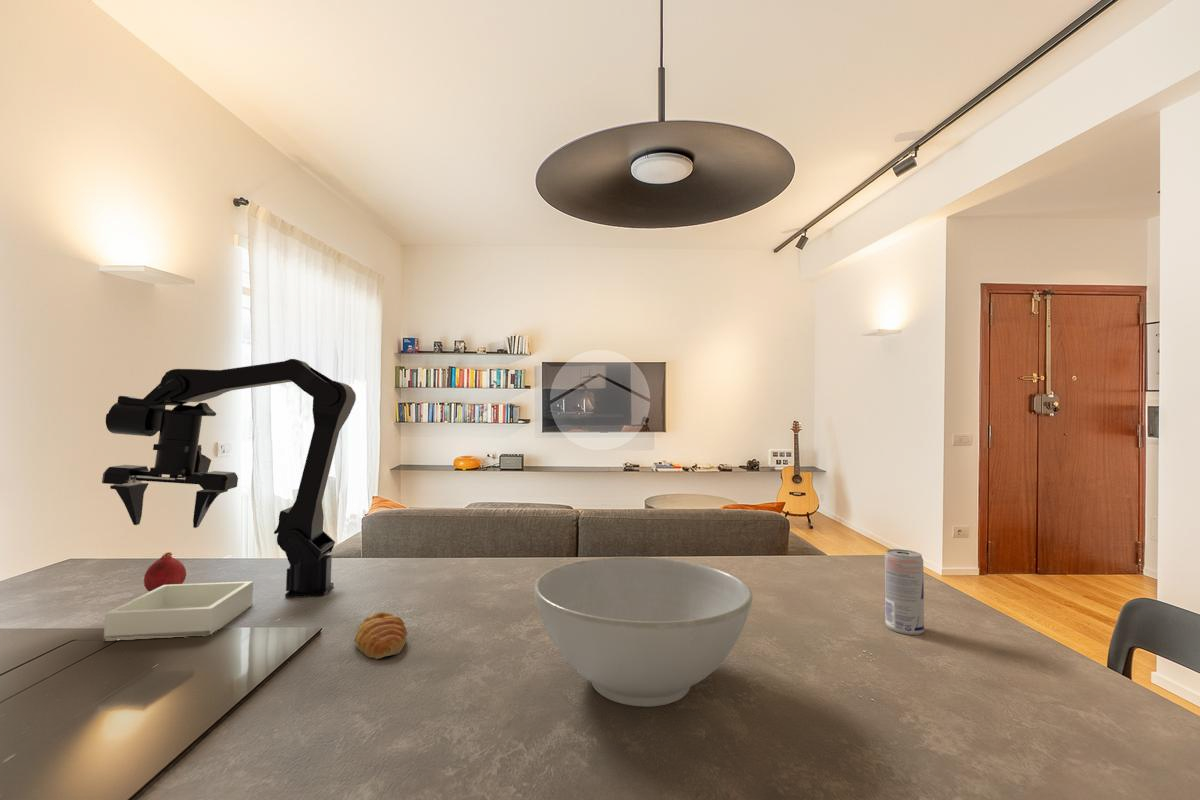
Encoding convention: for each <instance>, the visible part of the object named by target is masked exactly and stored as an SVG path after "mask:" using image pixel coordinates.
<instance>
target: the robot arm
mask: <svg viewBox="0 0 1200 800" xmlns="http://www.w3.org/2000/svg"><path fill="white" fill-rule="evenodd" d="M291 382H292V383H294V384H295V385H296V386H297V387H299V388H300V389H301V390H302V391H303V392H305V393H306V394H307V395H309V396H311V397H312V398H313V399H312V418H313V425H314V427H313V430H312V435H311V439H310V443H309V447H308V451H307V455H306V459H305V463H304V465H303V470H302V474H301V478H300V481H299V487H298V491H297V494H296V497H295V501H294V503H293V504H292V506H290V507H288V508H285V509H282V510H281V511H279V515H278V525H277V527H276V529H275V530H274V532H273V534H274V535H277V536H276V544H277V546H279V548H280V549H281V550H282V551H283V552H285V556H286V559H287V561H288V564H289V567H287V568H286V578H285V579H286V582H285V583H286V585H285V591H286V593H285V594H284V595H285V598H292V597H293V598H294V597H295V598H296V597H314V596H315V597H319V596H320V597H321V596H324V595H325V594H327V592H329V591H330V590H331V589H332V588H333V586H334V582H332V561H333V560H332V558H333V555H332V554H330V553H332V551H333V550H334V548H335V545H336V541H335V540H334V539H333V538H332V537H331V536H330V535H328V533H326V531H324V510H323V498H324V495H325V491H326V486H327V483H328V479H329V475H330V471H331V466H332V463H333V459H334V454H335V451H336V446H337V443H338V439H339V434H340V431H341V430H342V427H343V426H344V425H345V423H346V421H347V420H348V418H349V417H350V414H351V412H352V410H353V407H354V405H355V402H356V400H357V394H356V392H355V390H354V389H353V387H352V386H350V385H349V384H346V383H344V382H340V381H336V380H332V379H331V378H329V377H328V376H326V375H324V374H323V373H321V372H319V371H318V370H316V369H314V368H313V367H312V366H311V365H309V363H307V362H305V361H303V360H301V359H296V358H289V359H286V360H282V361H277V362H269V363H268V362H267V363H262V364H256V365H255V364H254V365H247V366H239V367H233V368H225V369H202V368H201V369H200V368H197V369H196V368H173V369H170V370H168V371H166V372H165V373H164V375H163V376H162V378H161V380H160V382H159V384H157V386H155V388H153V389H152V390H150V392H148V393H147V395H146V396H145V397H143V398H139V397H135V396H130V395H129V396H128V395H127V396H125V395H119V396H118V397H117V402H116V403H114V404H113V405H112V406H111V407H110V409H109V410H108V413H106V414H105V425H106V429H107V431H109V432H110V433H111V434H116V435H117V434H118V435H129V436H141V437H154V436H155V435H156V434H158V435H159V436H158V441H157V443H154V444H153V448H152V450H153V451H156V455H155V462H154V466H153V467H152V466H151V467H150V468H148V466H147V465H137V464H136V465H133V464H122V465H113V466H109V467H107V468H106V469H105V471H103V473H102V478H101V484H105V485H109V487H110V488H109V489H111V490H115V491H116V493H117V495H118V496H119V497H120V499H121V501H122V503H123V505H124V506H125V509H126V511H127V513H128V516H129V518H130V520H131V522H132V524H133V526H138V525H140V523H141V520H142V517H143V507H144V505H143V504H144V496H145V491H146V489H147V488H148V486H149V482H152V483H153V482H154V483H171V484H186V485H187V484H188V485H199V486H200V487H201V490H197V491H196V493H195V499H194V500H195V503H194V510H193V519H192V528H193V529H198V528H199V527H200V525H201V523H202V521H203V519H204V517H206V514H207V513H208V510H209V509H210V507H211V505H212V504H213V502H214V501H215V500H216V498H218V497H219V495H220V494H223V493H226V492H228V491H229V490H231V489H235V488H237V487H238V480H239V477H238V474H236V472H235V471H222V470H221V471H220V470H212V471H209V470H210V466H211V462H212V459H210V457H207V456H206V455H204V454H202V444H199V440H200V436H201V427H202V420H203V417H216V416H217V413H216V411H214V410H213V409H212V408H211V407H210V406H209V405H208V403H207V402H203V401H207V400H210V399H213V398H217V397H218V396H222V395H223V394H225V393H228V392H232V391H237V390H244V389H250V388H257V387H265V386H271V385H272V386H273V385H278V384H285V383H291ZM188 403H197V404H196V405H189V404H188ZM166 406H171V407H172V406H174V407H173V408H172V409H168V408H166ZM158 432H159V433H158ZM163 475H167V476H163ZM328 554H329V555H328Z"/></svg>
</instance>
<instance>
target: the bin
mask: <svg viewBox="0 0 1200 800" xmlns="http://www.w3.org/2000/svg"><path fill="white" fill-rule="evenodd" d="M253 593H254V581H252V580H251V581H232V582H229V581H227V582H226V581H225V582H223V581H222V582H205V583H183V584H170V585H162V586H160V587H158V588H156V589H154V590H152V591H150V592H149V591H147V593H144V594H142V595H140V596H138V597H136V598H133V599H132V600H130V601H128V602H126V603H123V604H121V605H120V606H117V607H115V608H113V609H111V610H108V611H107V612H105V613H104V624H103V625H104V627H103V640H104V639H108V638H116V637H131V636H133V637H134V636H199V635H210V634H212V633H213V632H214V631H215V630H218V629H219V630H221V628H224V626H226V625H228V623H230V622H231V621H233V620H234V619H236V617H238V616H240V615H241V614H242V613H244V612H245V611H246V610H247V609H249V608H251V607H252V606H253V599H254V598H253V597H254V596H253ZM219 630H218V631H219ZM212 635H213V634H212Z"/></svg>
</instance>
